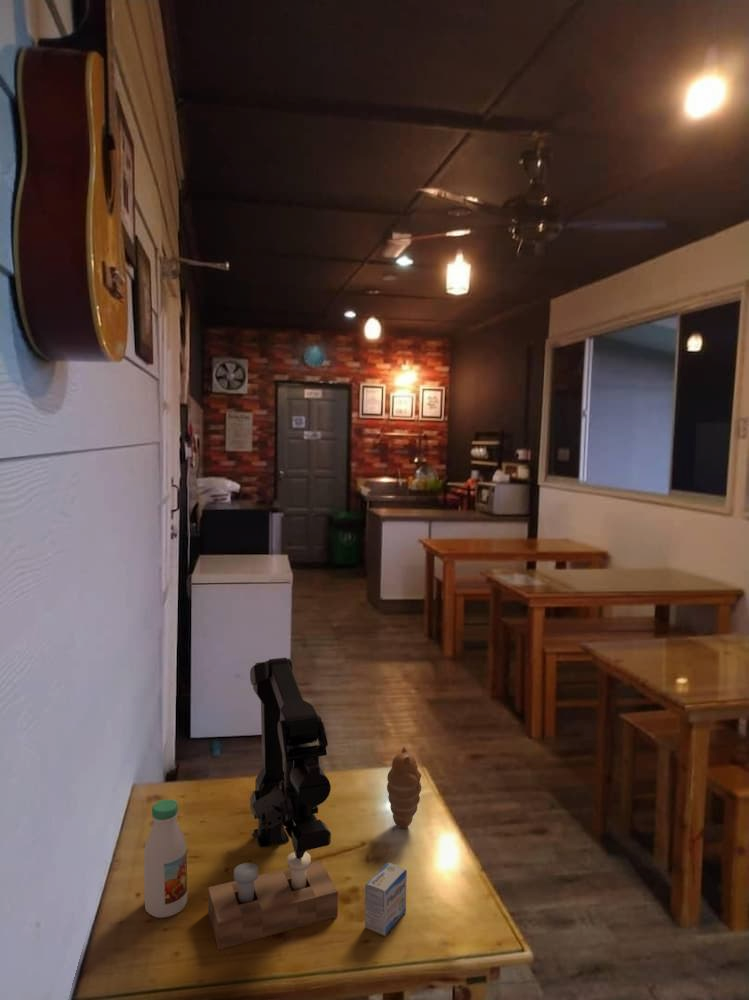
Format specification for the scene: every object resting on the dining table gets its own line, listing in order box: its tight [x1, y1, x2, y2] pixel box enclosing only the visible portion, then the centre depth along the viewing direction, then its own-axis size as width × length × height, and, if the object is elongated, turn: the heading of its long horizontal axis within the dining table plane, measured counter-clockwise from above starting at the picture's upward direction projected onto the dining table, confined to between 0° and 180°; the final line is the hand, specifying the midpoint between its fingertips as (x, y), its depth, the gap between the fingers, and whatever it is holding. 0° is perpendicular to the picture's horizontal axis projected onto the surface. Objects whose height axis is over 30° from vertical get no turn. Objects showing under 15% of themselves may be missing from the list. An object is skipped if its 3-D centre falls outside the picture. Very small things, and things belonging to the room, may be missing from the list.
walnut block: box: [207, 860, 339, 951], centre depth 129 cm, size 10×22×5 cm, turn 113°
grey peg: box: [233, 862, 259, 904], centre depth 126 cm, size 4×4×6 cm
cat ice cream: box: [386, 746, 422, 829], centre depth 157 cm, size 9×8×18 cm
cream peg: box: [286, 851, 312, 890], centre depth 130 cm, size 4×4×6 cm
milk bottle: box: [143, 798, 188, 919], centre depth 130 cm, size 8×8×20 cm
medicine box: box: [364, 862, 408, 937], centre depth 128 cm, size 8×4×9 cm, turn 148°
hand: (298, 857), depth 130 cm, fingers closed
